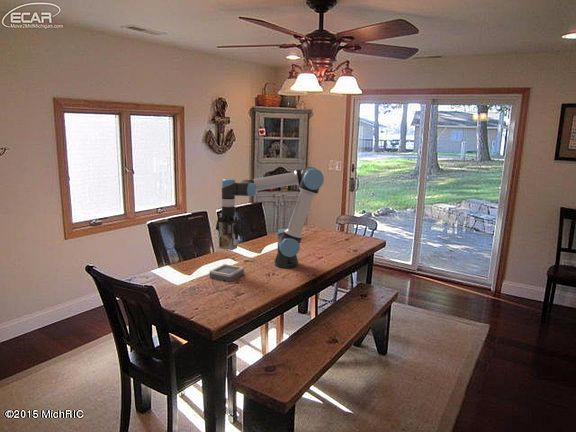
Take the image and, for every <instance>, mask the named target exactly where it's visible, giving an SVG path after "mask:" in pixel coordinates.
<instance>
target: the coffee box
mask: <svg viewBox="0 0 576 432" xmlns="http://www.w3.org/2000/svg"><path fill="white" fill-rule="evenodd" d="M234 225H236V224H235V222H233V223H230V222H228V221H224V222H222V220H221V222H219V231H218V243H219V244H218V246H219V247H218V249H222V250H228V251H234V250H236V249H238V243H237V244H236V245H233V234H235V233H234V231H233V226H234Z"/></svg>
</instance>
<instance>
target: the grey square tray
mask: <svg viewBox="0 0 576 432" xmlns="http://www.w3.org/2000/svg"><path fill="white" fill-rule="evenodd" d="M244 274H245V267H243V266H239V265H237V266H236V265H232V264H227V263H223V264H221V265H219V266H217V267H215V268H213V269H211V270H209V278H212V279H215V280H216V279H218V280H220V281H221V280H222V281H227V282H231V281H233V280H235V279H237V278H239V277H240V276H242V275H244Z"/></svg>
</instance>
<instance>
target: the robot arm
mask: <svg viewBox="0 0 576 432" xmlns="http://www.w3.org/2000/svg"><path fill="white" fill-rule="evenodd" d="M324 180H325V179H324V174H323V172H322V171H321V170H320V169H318V168H316V167H314V166H306V167H304V168H300V169H295V170H294V172H293V171H292V172H287V173H281V174H276V175H269V176H264V177H262V176H261V177H257V178H253V179H243V180H242V181H241V182H236V180H235V179H234V178H223V179H222V180H221V213H218V214H217V220H216V224H215V230H216V231H218V232H219V222H221V221H222V222H224V221H228V222H230V223H233V222H235V224H236V225H234V226H233V231H234V233H235V234H233V245H236V244H237V245H238V239H239V234H241V233H242V229H241V223H240V216H239V215H238V216H236V215H235V213H236V206H235V205H236V197H240V196H241V197H255V196H256V192H259V191H264V190H269V189H276V188H281V187H282V188H283V187H288V186H293V185H296V186H298V188H299V191H300V192H299V193H298V196H297V200H296V202H295V205H294V208H293V211H292V214H291V217H290V220H289V221H288V222H289V223H288V226H287V228H280V229H278V230H277V235H276V236H277V253H276V256H275V258H274V266H275V267H277V268H281V269H291V268H293V269H294V268H297V267H298V266H299V259H298V255H297V254H298V253H299V251H300V249H301V248H300V247H301V245H300V244H301V241H302V239H303V235H302V231H303V228H304V226H305V222H306V219H307V217H308V215H309V212H310V209H311V206H312V203H313V201H314V197H315V196H316V195H318V194H319V191H320V189H321V187H322V186H323V184H324Z"/></svg>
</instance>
